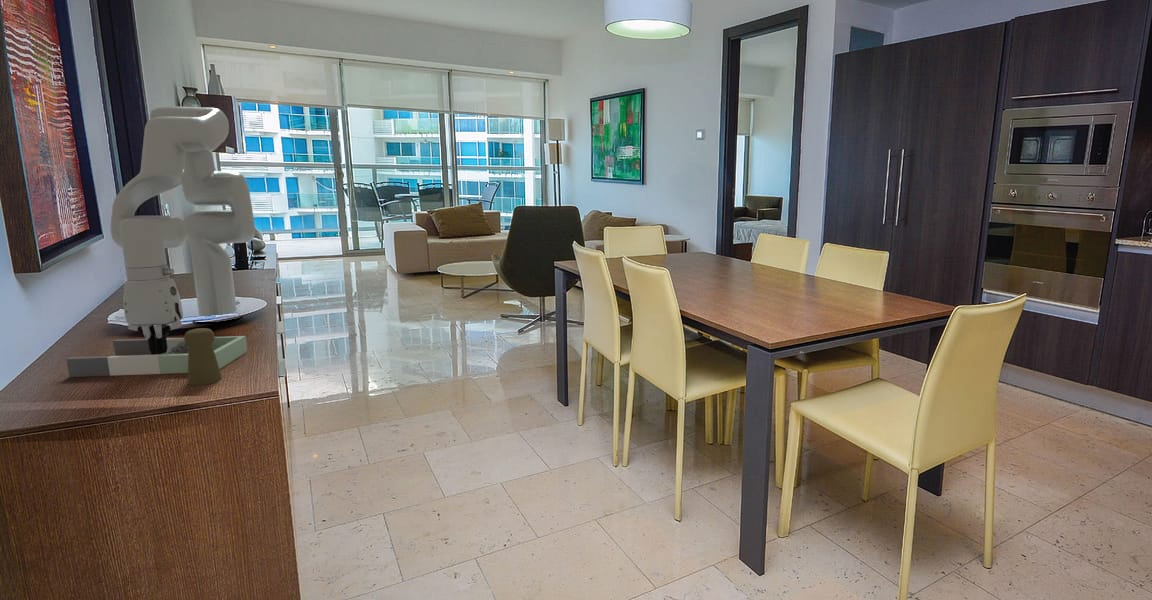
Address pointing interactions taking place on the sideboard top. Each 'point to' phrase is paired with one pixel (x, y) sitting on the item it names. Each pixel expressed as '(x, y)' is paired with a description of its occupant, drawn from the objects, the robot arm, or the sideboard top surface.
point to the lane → (151, 358)
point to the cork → (201, 357)
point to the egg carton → (179, 349)
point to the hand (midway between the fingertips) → (159, 353)
